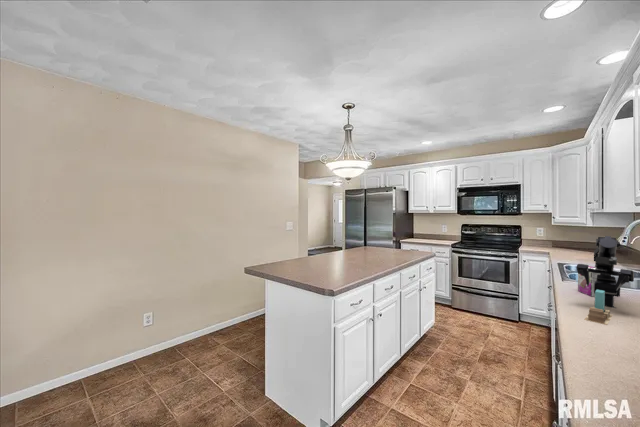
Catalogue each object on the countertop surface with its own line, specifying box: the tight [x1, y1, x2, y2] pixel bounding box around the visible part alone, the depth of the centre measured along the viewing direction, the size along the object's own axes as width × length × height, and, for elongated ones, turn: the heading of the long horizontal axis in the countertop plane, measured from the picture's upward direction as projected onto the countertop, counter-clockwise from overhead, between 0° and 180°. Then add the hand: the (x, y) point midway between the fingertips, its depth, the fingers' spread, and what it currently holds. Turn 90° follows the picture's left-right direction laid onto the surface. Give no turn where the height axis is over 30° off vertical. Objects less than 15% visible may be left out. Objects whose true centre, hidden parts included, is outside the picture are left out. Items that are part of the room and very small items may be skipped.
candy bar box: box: [577, 263, 600, 298], centre depth 162 cm, size 11×5×16 cm, turn 169°
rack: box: [584, 306, 613, 326], centre depth 124 cm, size 18×7×4 cm, turn 129°
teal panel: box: [594, 290, 606, 312], centre depth 126 cm, size 5×2×11 cm, turn 129°
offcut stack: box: [587, 306, 606, 324], centre depth 121 cm, size 5×5×4 cm
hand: (601, 287), depth 130 cm, fingers open, 9 cm apart
